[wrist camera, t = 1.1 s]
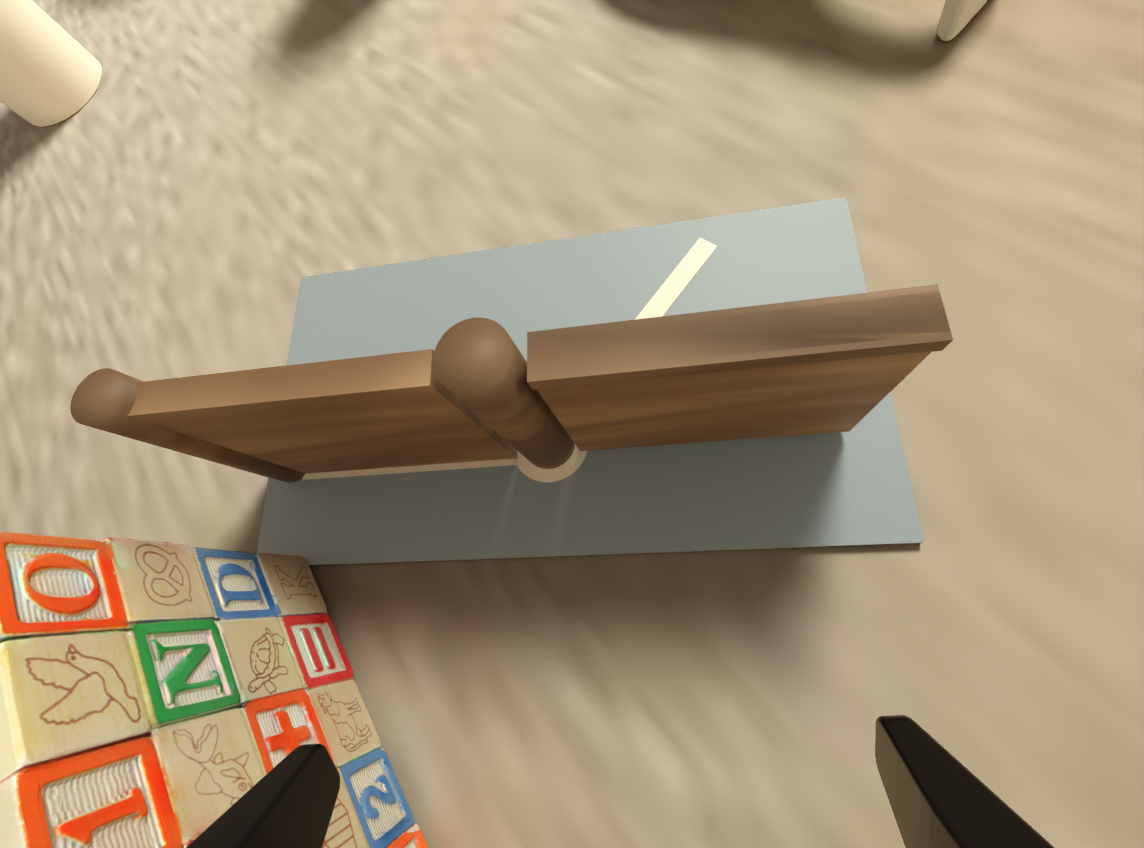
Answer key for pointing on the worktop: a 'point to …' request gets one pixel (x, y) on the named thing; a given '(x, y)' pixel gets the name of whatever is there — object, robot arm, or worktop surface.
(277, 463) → the fence post and fixed panel
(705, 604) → the worktop surface
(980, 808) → the robot arm
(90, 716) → the stack of blocks
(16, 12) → the cylindrical container
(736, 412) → the wooden board
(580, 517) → the card
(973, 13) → the spoon rest
